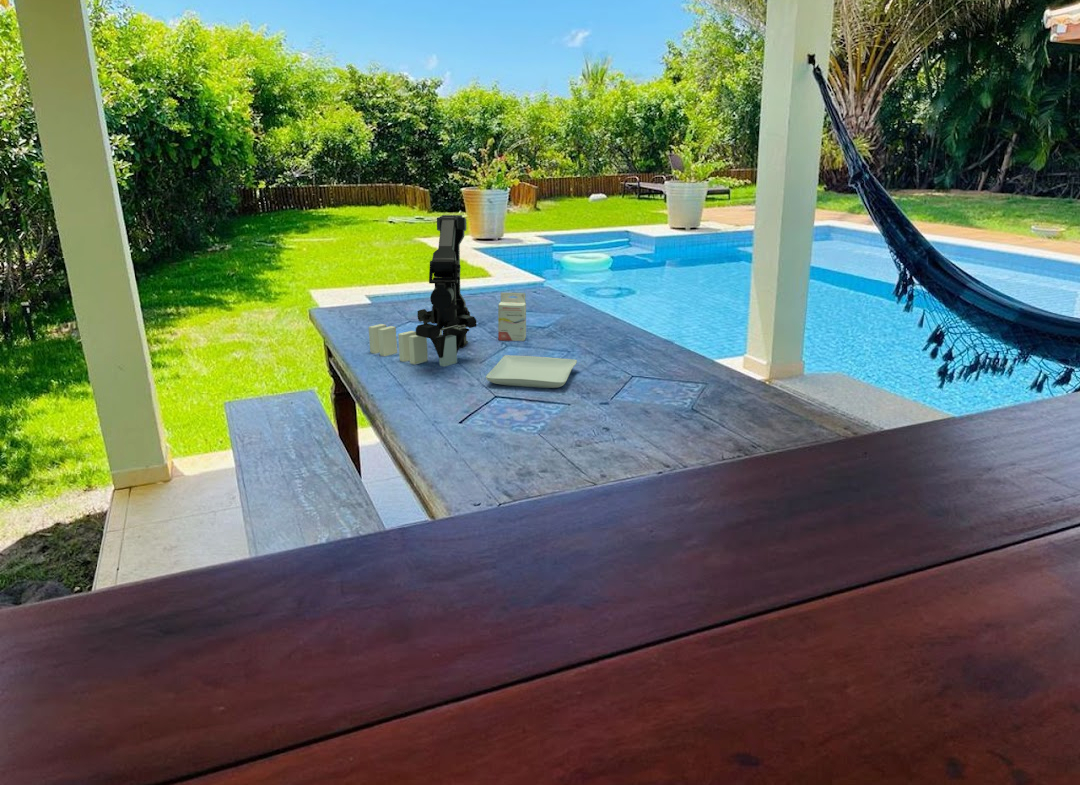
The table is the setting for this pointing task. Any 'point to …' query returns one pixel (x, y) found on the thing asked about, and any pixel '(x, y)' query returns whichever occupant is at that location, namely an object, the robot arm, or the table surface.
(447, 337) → the domino
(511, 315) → the ink cartridge box
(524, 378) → the salad plate
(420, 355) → the domino
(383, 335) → the domino
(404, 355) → the domino
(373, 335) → the domino
